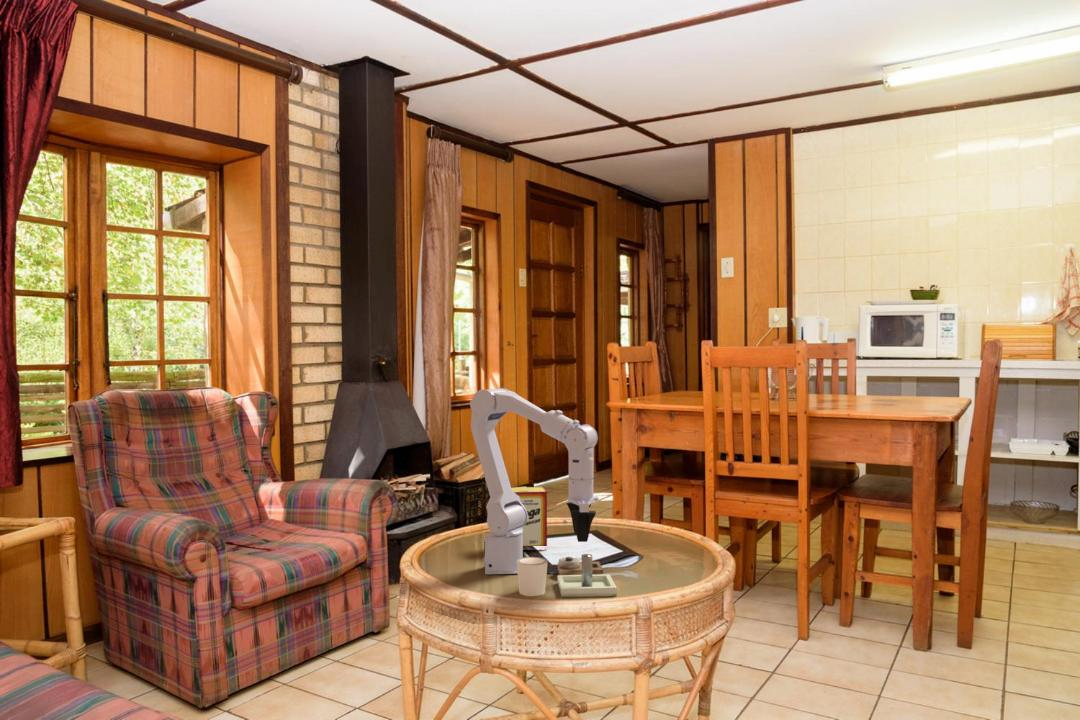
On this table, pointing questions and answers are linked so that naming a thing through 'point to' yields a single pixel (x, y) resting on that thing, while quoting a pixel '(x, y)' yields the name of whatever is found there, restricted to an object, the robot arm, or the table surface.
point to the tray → (573, 587)
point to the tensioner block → (576, 567)
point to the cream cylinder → (532, 575)
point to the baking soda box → (534, 515)
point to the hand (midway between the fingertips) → (580, 537)
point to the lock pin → (586, 570)
